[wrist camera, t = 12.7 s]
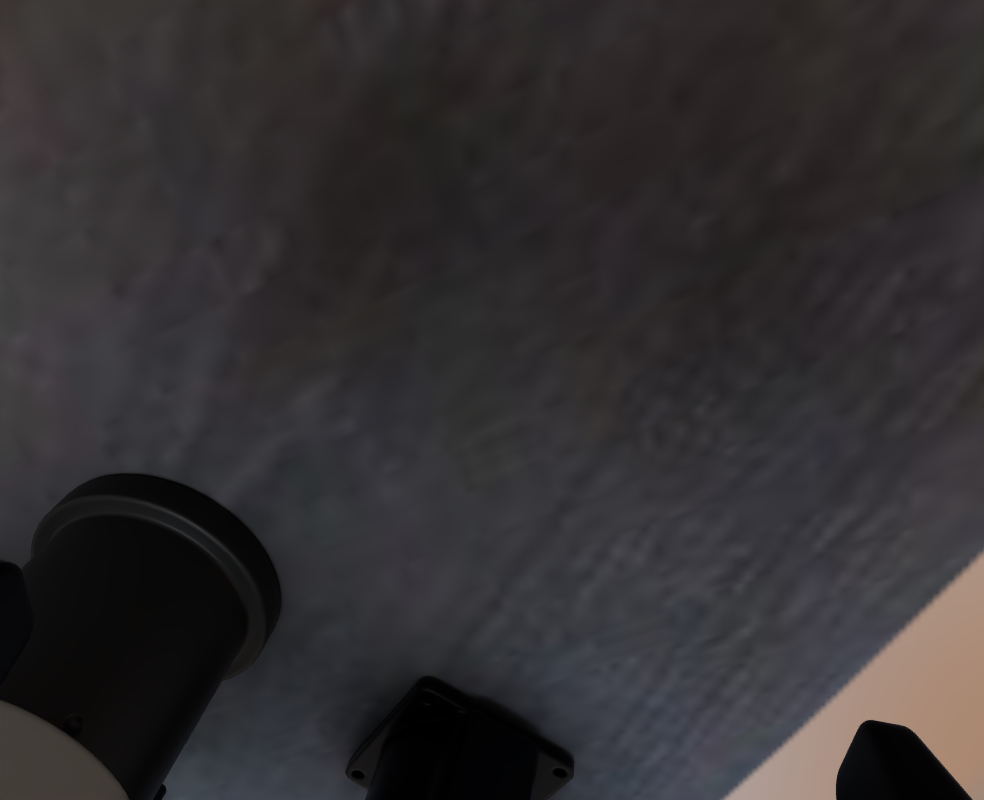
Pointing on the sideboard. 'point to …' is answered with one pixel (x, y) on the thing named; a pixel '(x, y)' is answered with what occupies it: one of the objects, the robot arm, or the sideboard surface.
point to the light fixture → (128, 638)
